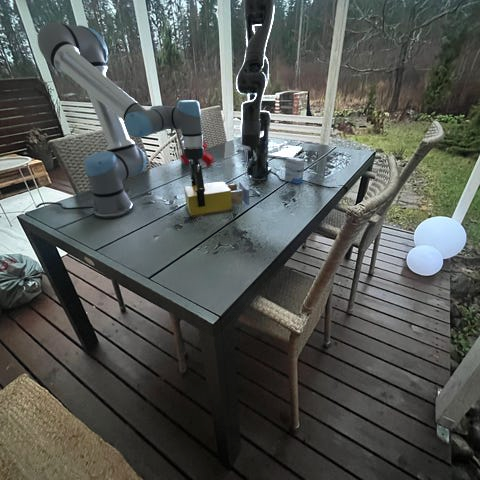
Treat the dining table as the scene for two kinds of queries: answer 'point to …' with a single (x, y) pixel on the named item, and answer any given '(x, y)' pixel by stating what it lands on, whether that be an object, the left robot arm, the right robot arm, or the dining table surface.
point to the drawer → (241, 193)
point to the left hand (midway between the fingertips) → (198, 200)
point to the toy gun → (207, 158)
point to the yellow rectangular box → (209, 199)
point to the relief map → (282, 150)
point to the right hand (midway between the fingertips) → (250, 174)
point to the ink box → (294, 170)
